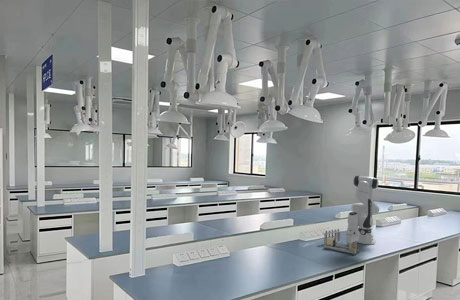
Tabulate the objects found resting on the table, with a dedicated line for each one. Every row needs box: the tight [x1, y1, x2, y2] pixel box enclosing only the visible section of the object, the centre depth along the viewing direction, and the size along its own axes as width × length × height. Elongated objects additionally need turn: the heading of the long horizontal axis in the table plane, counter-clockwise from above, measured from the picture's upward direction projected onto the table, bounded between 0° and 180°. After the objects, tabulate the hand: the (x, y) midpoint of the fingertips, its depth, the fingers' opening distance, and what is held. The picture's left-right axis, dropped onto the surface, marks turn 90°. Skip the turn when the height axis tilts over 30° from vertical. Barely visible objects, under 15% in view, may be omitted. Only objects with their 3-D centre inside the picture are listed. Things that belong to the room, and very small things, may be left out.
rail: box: [323, 236, 360, 256], centre depth 284 cm, size 10×28×9 cm, turn 49°
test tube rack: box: [321, 228, 343, 246], centre depth 307 cm, size 25×4×13 cm, turn 123°
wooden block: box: [347, 242, 358, 252], centre depth 278 cm, size 4×7×8 cm, turn 49°
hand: (352, 246), depth 277 cm, fingers open, 8 cm apart
